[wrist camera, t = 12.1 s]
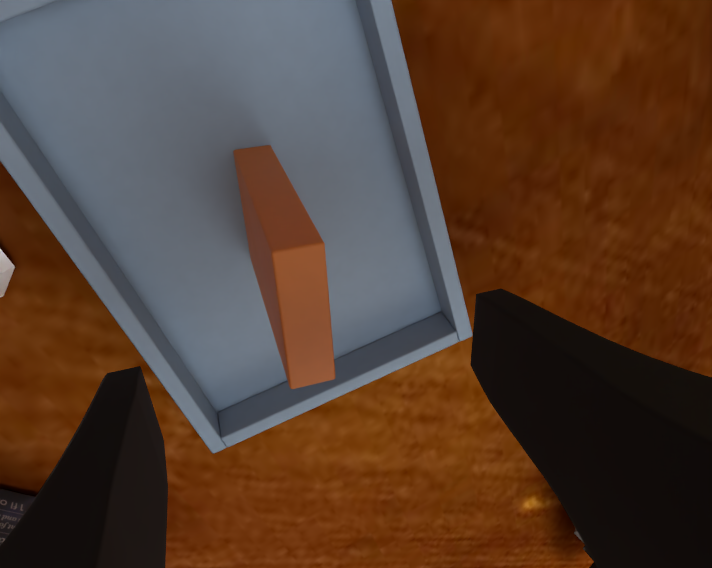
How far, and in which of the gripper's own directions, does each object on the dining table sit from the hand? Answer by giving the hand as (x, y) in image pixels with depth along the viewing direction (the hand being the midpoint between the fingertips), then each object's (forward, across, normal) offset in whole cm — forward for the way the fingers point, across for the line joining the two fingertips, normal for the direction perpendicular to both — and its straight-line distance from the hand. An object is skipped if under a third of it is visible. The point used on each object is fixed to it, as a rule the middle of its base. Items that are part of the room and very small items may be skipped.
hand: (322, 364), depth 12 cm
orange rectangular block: (+9, 0, 0) cm, 9 cm away
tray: (+9, 0, 0) cm, 9 cm away
